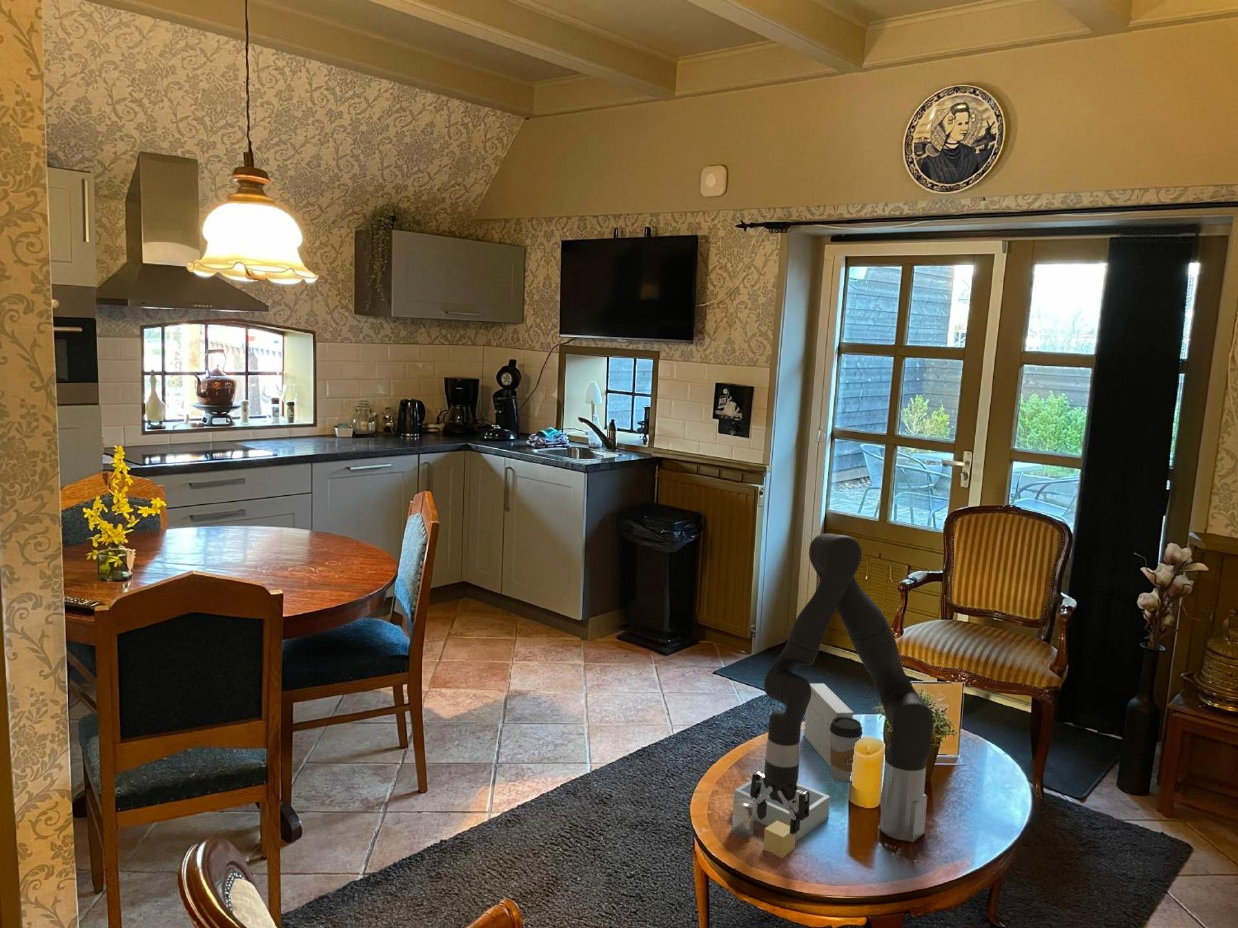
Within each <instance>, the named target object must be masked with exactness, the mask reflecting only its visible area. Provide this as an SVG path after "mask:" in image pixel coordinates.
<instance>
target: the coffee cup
mask: <svg viewBox="0 0 1238 928" xmlns="http://www.w3.org/2000/svg"><path fill="white" fill-rule="evenodd" d="M861 724H862V723H861V722H860V720H857V719H855V718H848V717H837V718H834V719H833V720H832V723H831V724H830V733H831V745H830V762H831V767H830V774H831V777H832V778H833V779H834V780H835V779H836V781H838V782H841V781H842V783H850V782H849V781H850V776H851V772H852V763H853V755H854V746H855V743H856V742H857V741H858V740H859V739H861V740H862V735H863V727H862V725H861Z"/></svg>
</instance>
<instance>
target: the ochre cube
mask: <svg viewBox="0 0 1238 928" xmlns="http://www.w3.org/2000/svg"><path fill="white" fill-rule="evenodd" d="M763 834H764V835H763V850H765V851H767V852H770V853H772V854H774V855H776V856H778V857H780V858H781V859H783V858H784V857H786V856H787V855H788V854H790V853H791V852H793V851H794V850H795V848H796V845H795V844H796V839H795V834H793V835H792V834H790V826H788V825H786V824H784V823H782V822H780V821H775V822H774V823H772V824H771V825H769V826H768V827H767V826H765V828H764V833H763Z"/></svg>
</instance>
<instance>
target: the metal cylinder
mask: <svg viewBox="0 0 1238 928" xmlns="http://www.w3.org/2000/svg"><path fill="white" fill-rule="evenodd" d="M754 814H755V803H754V802H753V801H751V800H749V799H745V798H740V799H736V800H734V799H733V802H732V824H731V832H732V834H733V835H734V836H736V837H737V838H741V839H742V838H743V839H747V838H751V837H752V836H754V833H755V830H754V829H755V827H754V826H755V821H754Z"/></svg>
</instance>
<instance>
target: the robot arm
mask: <svg viewBox="0 0 1238 928" xmlns="http://www.w3.org/2000/svg"><path fill="white" fill-rule="evenodd" d="M808 552H809V553H808V556H809V560H810V563H811V565H812V567H813V569H814V571H815V572H816V574H817V575H818V577H819V578H820V581H819V584H818V586H817V588H816V590H815V592H814V594H813V595H812V597H811V598H810V599H809V601H808V602H807V603H806V604H805V606H804V607H803V609H802V610H801V612H800V613H799V614H798V616H797V617H796V619H795V621H794V623H793V625H792V627H791V630H790V632H789V636H788V637H787V638H788V639H787V641H786V644H785V647H784V648H783V650H782V651H781V653H780V654H779V655H778V657H777V659H776V660H775V661H774V662H773V664H772V665H771V666H770V668H769V670H768V671H767V673H766V675H765V678H764V683H763V687H764V692H765V694H766V696H767V697H768V698H770V699H772V700H775V701H776V702H779V703H781V704H783V705H785V706H786V707H785V709H777V710H774V711H772V712H771V714H770V715H769V720H768V733H767V741H766V747H765V756H764V757H765V758H764V771H762V770H758V771H756V772H754V773H753V774H752V776H751V780H752V783H751V791H750V796H751V797H752V798H755V799H756V801H757V815H758V818H759V819H761V820H762V819H763V818H765V817H766V810H767V802H766V799H767V798H768V797H771V799H772V800H775V801H778V802H779V803H781V804H784V806H785V808H786V810H788V811H789V813H790V815H791V821H790V834H792V835H793V834H795V833H797V832H798V831H799V829H800V820H801V821H802V820H804V819H805V818H807V817H808V816H809V797H810V794H809V792H808V791H805V792H802V791H800V790H798V788H797V783H798V780H799V772H800V758H801V742H800V741H801V730H802V723H803V720H804V717H805V715H806V709H807V706H808V704H809V701H810V699H811V686H810V684H811V683H810V682H809V680H808V679H807V678H805V677H804V676H802V675H800V674H796V673H795V672H794V671H795V670H796V668H797V667H799V666H807V667H808V666H812V665H813V664H814V663H815V661H816V659H817V656H818V654H819V651H820V647H821V646H822V643H823V640H824V636H825V634H826V632H827V629H828V626H829V624H830V622H831V620H832V617H833V616H834V614H835V612H836V611H837V613H838V615H839V617H840V619H841V622H842V623H843V625H844V627H845V630H846V632H847V634H848V637H849V639H850V641H851V643H852V646H853V648H854V649H855V652H856V653H857V655H858V657H859V659H860V661H861V663H862V664H863V666H864V667H865V669H866V671H867V672H868V674H869V675H870V677H871V679H872V680H873V682H874V684H875V686H876V691H877V692H878V695H879V698H880V700H881V703H882V707H883V710H884V713H885V717H886V718H887V720H888V722H889V724H890V725H891V738H890V744H888V745H887V746H886V748H885V751H884V752H885V753H884V754H885V755H884V769H883V780H882V781H883V782H882V793H881V795H882V796H881V807H880V808H881V809H880V817H879V819H880V823H879V829H880V831H881V832H882V833H883V834H885V835H886V836H888V837H889V838H892V839H894V840H899V841H908V842H911V843H914V842H915V841H917V840H918V839H919V838H920V837H922V836H923V834H924V833H925V827H926V818H927V817H926V815H927V803H928V802H927V801H928V795H927V794H925V784H926V769H927V762H928V761H927V760H928V758H929V757H930V754H931V750H932V749H931V748H932V742H933V733H934V716H933V712H932V711H931V709H930V708H929V706H928V705H927V704H926V703H925V701H924V700H923V699H922V697H921V695H919V694H918V693H917V691H916V689H915V687H914V686H913V685H912V683H911V682H910V679H909V678H908V675H907V674H906V673H905V670H904V668H903V665H902V662H901V657H900V651H899V647H898V644H897V642H896V638H895V636H894V633H893V631H892V629H891V627H890V625H889V623H888V621H887V618H886V617H885V615H884V613H883V612H882V610H881V609H880V607H878V606H877V604H876V603H875V602H874V601H873V600H872V598H871V597H870V596H869V595H868V594H867V593H866V592H865V591H864V589H862V587H861V586H860V584H859V582H858V581H857V580H856V578H855V575H856V573H857V571H858V569H859V568H860V567H859V566H860V564H861V562H862V553H863V552H862V548H861V546H860V543H859V542H858V541H857V540H856V539H855V538H853V537H852V536H850V535H845V534H843V535H842V534H835V533H823V534H819V535H816V536H815V537H814V538H813V539H812V541H811V543H810V545H809V549H808ZM763 773H764V774H763ZM762 782H763V783H764V785H765V787H766V790H765V791H764V792H763V793H762V794H761V785H762ZM796 796H797V798H798V799H796ZM790 800H791V801H792V804H789V801H790ZM798 801H799V803H798ZM798 805H799V806H798ZM793 808H794V809H793ZM794 810H795V811H794Z"/></svg>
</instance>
